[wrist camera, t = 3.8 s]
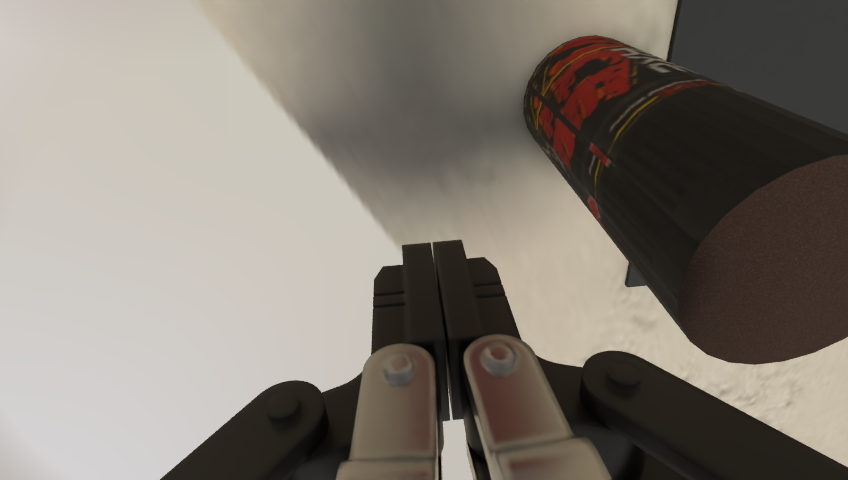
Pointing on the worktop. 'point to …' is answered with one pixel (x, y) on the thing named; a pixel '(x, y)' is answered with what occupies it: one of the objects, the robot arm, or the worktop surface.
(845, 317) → the deodorant
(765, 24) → the mat
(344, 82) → the worktop surface
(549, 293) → the worktop surface
